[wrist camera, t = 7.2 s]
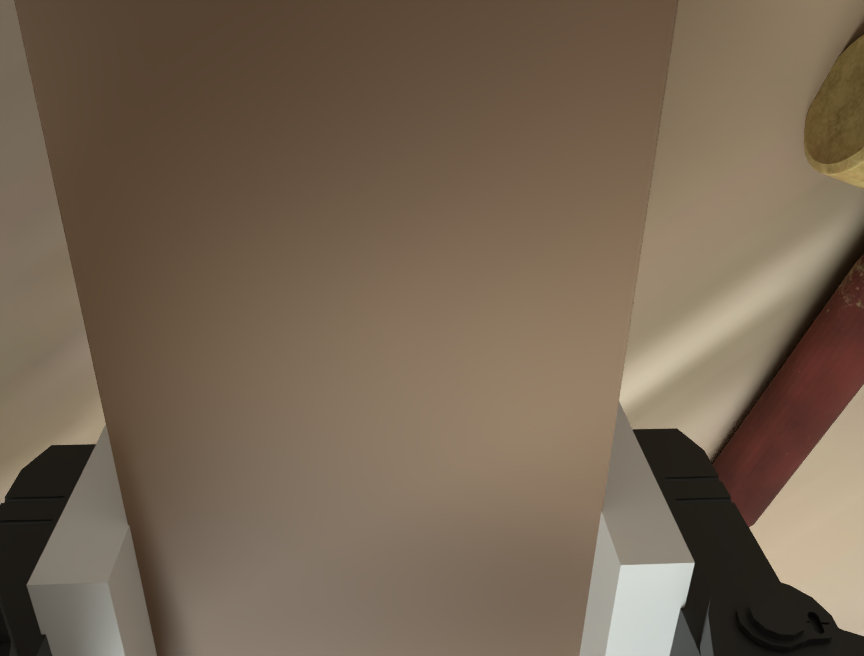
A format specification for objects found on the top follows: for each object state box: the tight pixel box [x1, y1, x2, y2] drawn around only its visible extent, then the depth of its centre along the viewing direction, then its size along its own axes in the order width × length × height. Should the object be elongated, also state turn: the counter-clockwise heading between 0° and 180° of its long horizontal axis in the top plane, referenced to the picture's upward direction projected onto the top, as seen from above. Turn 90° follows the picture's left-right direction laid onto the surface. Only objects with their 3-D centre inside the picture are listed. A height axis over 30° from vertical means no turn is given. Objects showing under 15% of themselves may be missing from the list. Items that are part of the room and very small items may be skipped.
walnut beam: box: [14, 0, 678, 656], centre depth 12 cm, size 20×5×7 cm, turn 179°
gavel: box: [713, 34, 864, 527], centre depth 29 cm, size 21×5×10 cm
